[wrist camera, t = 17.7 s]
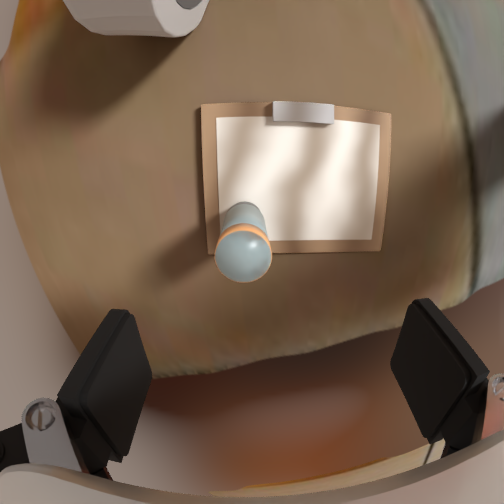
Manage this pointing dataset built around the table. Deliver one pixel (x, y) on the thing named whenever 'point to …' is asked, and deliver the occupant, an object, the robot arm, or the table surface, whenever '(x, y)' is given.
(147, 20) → the alarm clock
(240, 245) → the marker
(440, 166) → the table surface
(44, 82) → the table surface
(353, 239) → the clipboard
